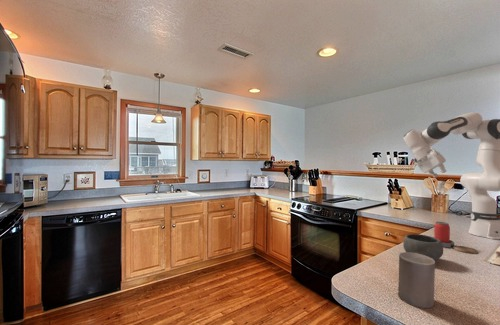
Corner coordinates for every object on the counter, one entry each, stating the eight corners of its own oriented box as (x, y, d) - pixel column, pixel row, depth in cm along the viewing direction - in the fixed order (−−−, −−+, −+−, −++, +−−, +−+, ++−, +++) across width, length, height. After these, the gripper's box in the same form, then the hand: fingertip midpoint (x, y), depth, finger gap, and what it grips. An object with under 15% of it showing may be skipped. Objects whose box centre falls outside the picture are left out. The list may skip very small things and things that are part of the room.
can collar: (447, 242, 135) (447, 238, 135) (457, 248, 125) (457, 243, 125) (427, 241, 137) (427, 236, 137) (435, 246, 128) (435, 242, 128)
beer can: (446, 243, 133) (446, 222, 133) (451, 247, 127) (452, 224, 127) (432, 242, 136) (432, 220, 136) (437, 245, 129) (437, 223, 129)
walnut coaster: (470, 248, 126) (470, 246, 126) (481, 254, 118) (481, 252, 118) (449, 246, 129) (449, 244, 129) (459, 252, 120) (459, 250, 120)
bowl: (432, 269, 101) (432, 245, 101) (396, 256, 114) (396, 235, 114) (449, 262, 107) (450, 240, 107) (414, 251, 121) (414, 231, 121)
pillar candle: (391, 291, 83) (392, 248, 82) (418, 291, 83) (419, 247, 83) (412, 309, 73) (413, 260, 73) (442, 308, 73) (443, 259, 73)
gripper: (438, 145, 131) (456, 166, 126) (422, 157, 150) (437, 177, 145) (427, 150, 131) (444, 171, 126) (412, 162, 150) (427, 181, 145)
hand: (440, 174), depth 136 cm, fingers open, 8 cm apart
